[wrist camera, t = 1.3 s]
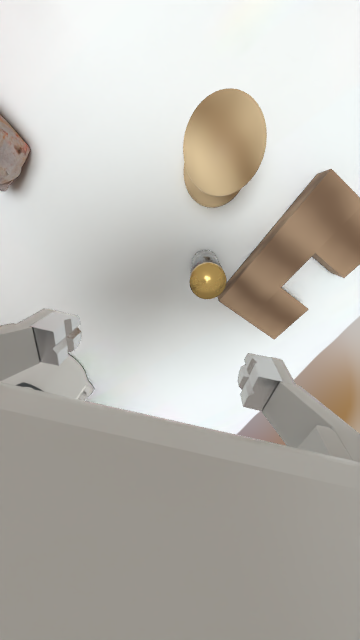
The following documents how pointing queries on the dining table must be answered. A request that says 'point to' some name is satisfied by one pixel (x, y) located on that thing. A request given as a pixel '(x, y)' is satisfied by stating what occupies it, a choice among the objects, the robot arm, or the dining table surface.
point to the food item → (10, 154)
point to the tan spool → (223, 146)
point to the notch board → (297, 253)
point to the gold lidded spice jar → (207, 275)
